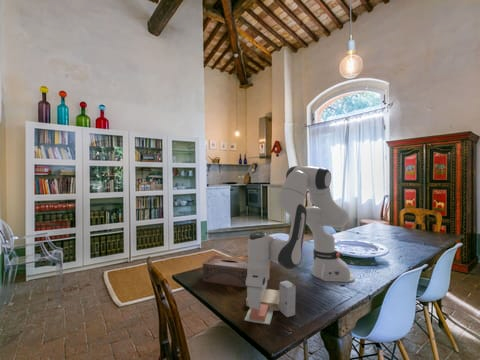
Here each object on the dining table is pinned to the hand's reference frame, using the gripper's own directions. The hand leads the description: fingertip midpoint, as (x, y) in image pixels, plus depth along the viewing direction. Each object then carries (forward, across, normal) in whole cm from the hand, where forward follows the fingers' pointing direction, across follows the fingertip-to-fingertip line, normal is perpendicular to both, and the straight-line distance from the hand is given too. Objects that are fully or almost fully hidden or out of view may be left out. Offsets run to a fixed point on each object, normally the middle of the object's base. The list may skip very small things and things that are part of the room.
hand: (258, 307), depth 95 cm
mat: (+4, -1, 0) cm, 4 cm away
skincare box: (+4, -6, +11) cm, 13 cm away
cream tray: (+4, -12, 0) cm, 13 cm away
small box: (+4, -50, -8) cm, 51 cm away
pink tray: (+3, -1, 0) cm, 4 cm away
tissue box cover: (+4, -31, -23) cm, 39 cm away
